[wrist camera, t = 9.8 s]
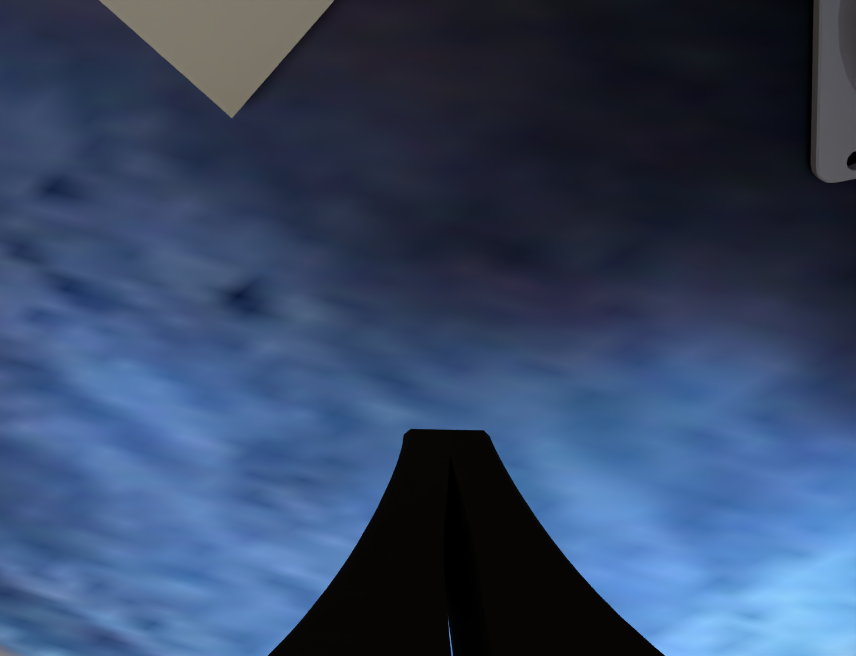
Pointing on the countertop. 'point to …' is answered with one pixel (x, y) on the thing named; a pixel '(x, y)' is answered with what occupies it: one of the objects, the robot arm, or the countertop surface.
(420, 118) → the countertop surface
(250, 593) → the countertop surface
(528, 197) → the countertop surface
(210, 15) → the panel
